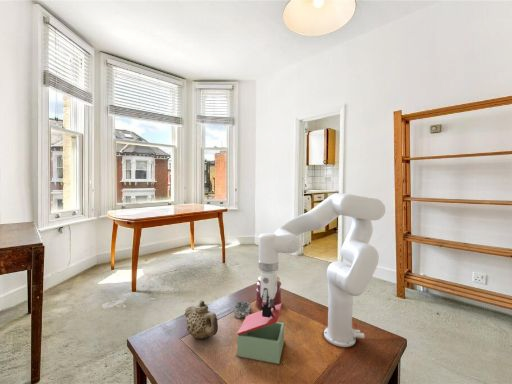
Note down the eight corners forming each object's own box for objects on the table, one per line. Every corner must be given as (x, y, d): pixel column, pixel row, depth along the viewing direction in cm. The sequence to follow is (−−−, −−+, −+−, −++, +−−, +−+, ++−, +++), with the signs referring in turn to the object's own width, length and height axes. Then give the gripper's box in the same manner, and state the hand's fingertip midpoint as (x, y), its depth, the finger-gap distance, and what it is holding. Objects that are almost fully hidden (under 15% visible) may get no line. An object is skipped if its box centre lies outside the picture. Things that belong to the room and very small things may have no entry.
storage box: (283, 341, 99) (284, 323, 99) (279, 364, 87) (279, 342, 87) (246, 335, 103) (247, 317, 103) (237, 356, 91) (237, 335, 90)
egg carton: (249, 319, 115) (249, 310, 115) (233, 318, 116) (233, 310, 115) (250, 307, 126) (250, 299, 126) (236, 307, 126) (236, 299, 126)
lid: (282, 304, 99) (276, 292, 99) (277, 322, 86) (271, 308, 87) (247, 317, 102) (242, 305, 103) (238, 335, 90) (232, 322, 91)
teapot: (176, 331, 105) (175, 297, 105) (198, 320, 114) (198, 288, 113) (205, 355, 91) (205, 316, 90) (228, 341, 99) (229, 305, 98)
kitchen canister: (285, 303, 131) (285, 270, 130) (273, 314, 120) (274, 278, 119) (264, 296, 138) (264, 266, 137) (251, 306, 127) (251, 273, 126)
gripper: (274, 274, 84) (274, 326, 84) (281, 259, 100) (281, 302, 101) (253, 272, 85) (253, 323, 86) (263, 258, 102) (263, 300, 103)
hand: (268, 311), depth 94 cm, fingers closed on lid, 6 cm apart
